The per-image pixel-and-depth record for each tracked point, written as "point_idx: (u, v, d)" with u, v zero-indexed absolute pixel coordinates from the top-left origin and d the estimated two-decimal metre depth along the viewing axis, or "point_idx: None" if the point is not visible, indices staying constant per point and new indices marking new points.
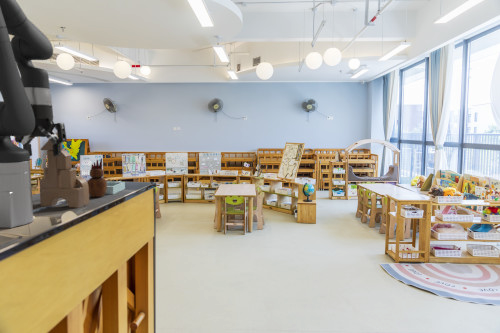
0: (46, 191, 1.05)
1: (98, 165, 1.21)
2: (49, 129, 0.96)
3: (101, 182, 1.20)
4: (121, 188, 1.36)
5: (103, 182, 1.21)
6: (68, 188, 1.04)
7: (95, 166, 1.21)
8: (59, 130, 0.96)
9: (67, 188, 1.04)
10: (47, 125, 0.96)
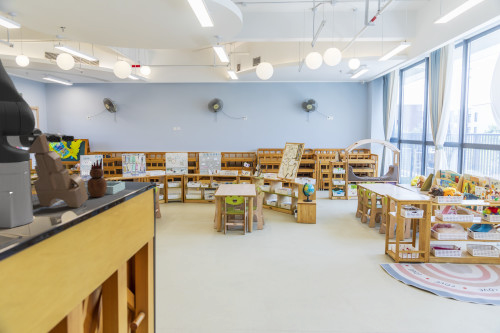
0: (43, 193, 1.04)
1: (98, 165, 1.21)
2: None
3: (101, 182, 1.20)
4: (121, 188, 1.36)
5: (103, 182, 1.21)
6: (64, 190, 1.03)
7: (95, 166, 1.21)
8: None
9: (63, 190, 1.03)
10: None
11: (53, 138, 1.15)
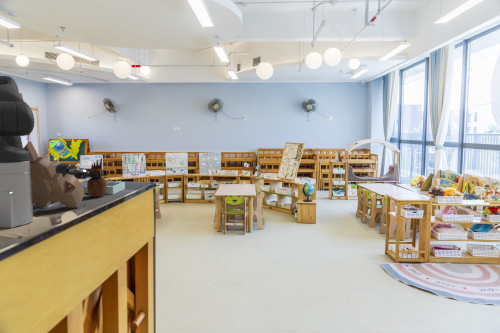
0: (38, 197, 1.01)
1: (98, 165, 1.21)
2: None
3: (101, 182, 1.20)
4: (121, 188, 1.36)
5: (103, 182, 1.21)
6: (61, 194, 1.00)
7: (95, 166, 1.21)
8: None
9: (60, 194, 1.00)
10: None
11: (94, 174, 1.18)
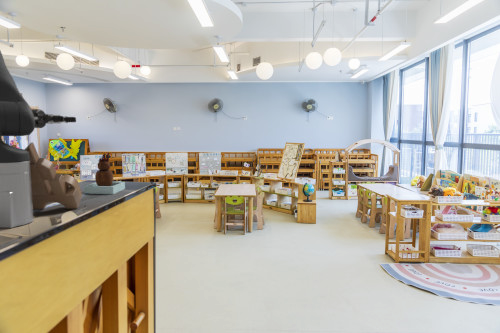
0: (35, 198, 0.99)
1: (105, 158, 1.32)
2: None
3: (108, 174, 1.31)
4: (121, 188, 1.36)
5: (110, 174, 1.32)
6: (61, 195, 0.99)
7: (102, 159, 1.32)
8: None
9: (60, 195, 0.99)
10: None
11: (56, 117, 1.22)
